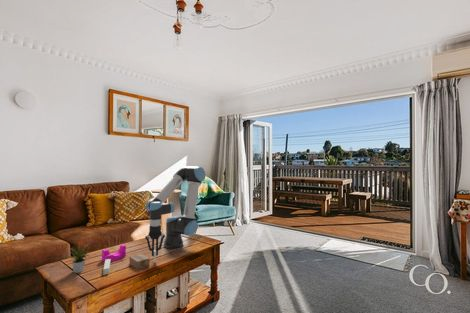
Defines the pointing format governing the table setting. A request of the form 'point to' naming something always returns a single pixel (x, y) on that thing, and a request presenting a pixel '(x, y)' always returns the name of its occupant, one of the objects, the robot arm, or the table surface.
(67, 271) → the table surface
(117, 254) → the magenta arch bracket
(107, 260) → the board
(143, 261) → the walnut block
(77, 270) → the house plant
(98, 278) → the table surface
